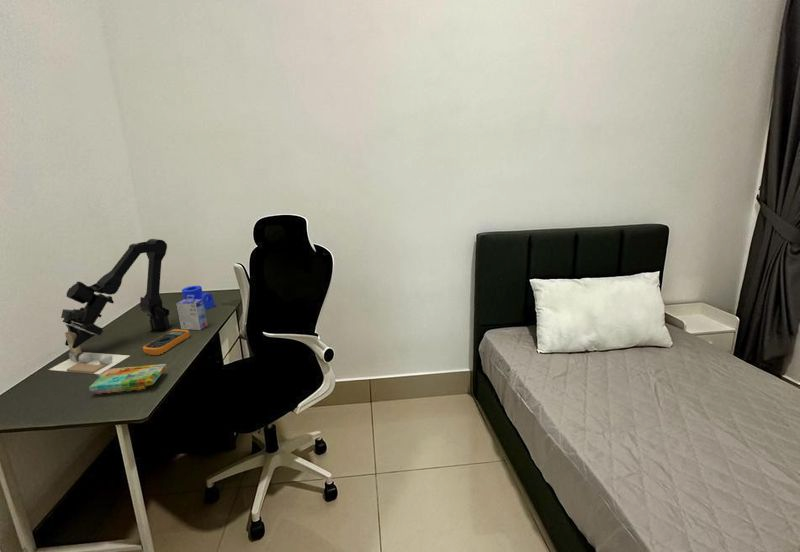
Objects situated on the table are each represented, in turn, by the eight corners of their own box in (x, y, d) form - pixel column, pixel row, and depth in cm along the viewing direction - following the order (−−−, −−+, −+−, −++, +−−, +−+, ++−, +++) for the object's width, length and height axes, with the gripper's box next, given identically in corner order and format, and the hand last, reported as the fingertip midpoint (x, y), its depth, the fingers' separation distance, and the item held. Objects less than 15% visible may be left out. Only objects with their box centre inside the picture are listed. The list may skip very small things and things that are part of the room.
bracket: (181, 304, 233) (178, 289, 231) (198, 298, 240) (195, 284, 237) (201, 311, 221) (198, 296, 219) (219, 305, 228) (216, 290, 225)
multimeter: (141, 355, 179) (139, 347, 178) (174, 335, 196) (173, 328, 195) (159, 357, 177) (157, 349, 176) (191, 336, 193) (190, 329, 192)
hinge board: (82, 354, 183) (79, 344, 181) (130, 358, 177) (128, 347, 176) (49, 372, 170) (45, 361, 168) (100, 376, 164) (96, 365, 163)
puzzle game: (106, 367, 161) (165, 361, 162) (109, 379, 162) (168, 373, 164) (87, 385, 150) (152, 378, 151) (91, 397, 151) (155, 391, 153)
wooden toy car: (79, 356, 179) (72, 330, 175) (86, 359, 176) (78, 332, 173) (70, 360, 176) (62, 333, 173) (76, 363, 173) (68, 336, 170)
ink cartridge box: (208, 325, 204) (202, 294, 199) (201, 330, 198) (194, 298, 194) (188, 324, 206) (182, 293, 201) (180, 329, 201) (173, 298, 196)
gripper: (61, 296, 177) (36, 334, 172) (85, 303, 167) (59, 343, 162) (88, 308, 186) (66, 344, 180) (113, 315, 176) (90, 354, 170)
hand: (69, 346), depth 173 cm, fingers closed on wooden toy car, 5 cm apart
